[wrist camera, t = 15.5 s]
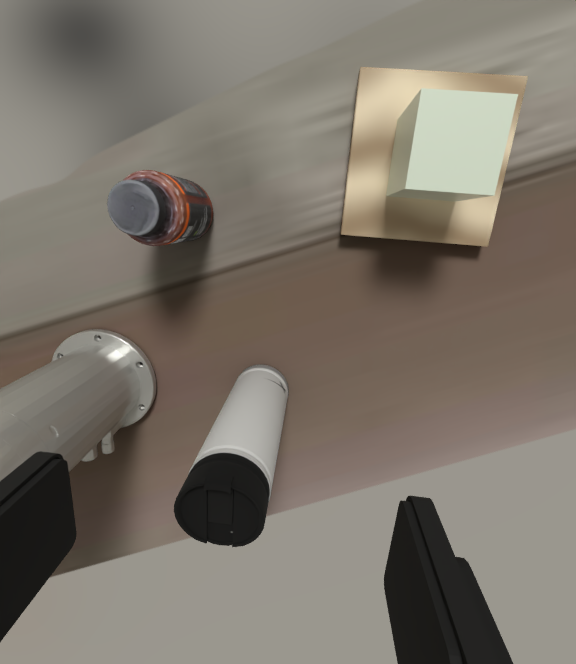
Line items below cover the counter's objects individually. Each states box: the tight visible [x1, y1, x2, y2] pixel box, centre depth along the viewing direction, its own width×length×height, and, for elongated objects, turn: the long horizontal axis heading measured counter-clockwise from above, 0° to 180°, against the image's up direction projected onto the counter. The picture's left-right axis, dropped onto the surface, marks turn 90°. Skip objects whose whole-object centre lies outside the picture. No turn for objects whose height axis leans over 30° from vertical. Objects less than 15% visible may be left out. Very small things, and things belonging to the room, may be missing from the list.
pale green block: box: [386, 88, 518, 202], centre depth 29 cm, size 6×6×8 cm
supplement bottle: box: [107, 170, 213, 246], centre depth 32 cm, size 6×6×11 cm
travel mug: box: [174, 365, 289, 547], centre depth 33 cm, size 6×7×20 cm
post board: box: [340, 67, 528, 247], centre depth 31 cm, size 14×14×8 cm
